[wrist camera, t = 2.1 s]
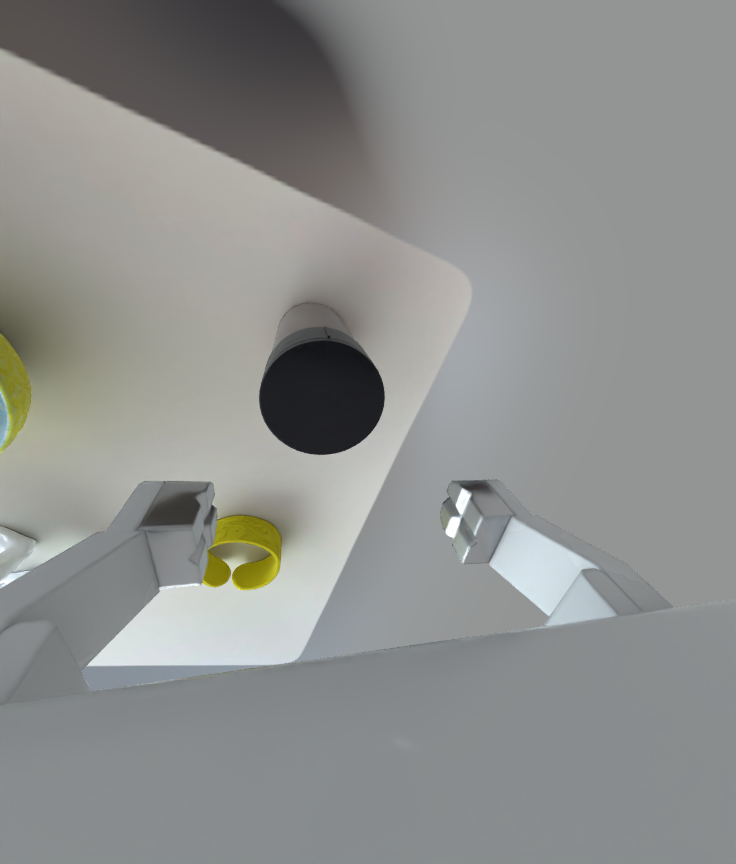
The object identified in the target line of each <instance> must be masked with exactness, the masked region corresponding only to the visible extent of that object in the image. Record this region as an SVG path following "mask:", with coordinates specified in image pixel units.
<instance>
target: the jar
mask: <svg viewBox="0 0 736 864" xmlns="http://www.w3.org/2000/svg"><path fill="white" fill-rule="evenodd" d="M324 326H327V328H333V329H336V330H339V331H341V332H343V333H345V334H347V335H349V336H350V337H352V335H351V333H350V332H349V330H348V329H347V327H346V326H345V324H344V323H343V321H342V320H341V318H340V317H339V316H338V315H337V313H335V312H334V311H333V310H332V309H330V308H329V307H327V306H325V305H322V304H318V303H303V304H299V305H297V306H295V307H293V308H291V309H290V310H289V311H288V312H287V313H286V314H285V315H284V316H283V318H282V319H281V321H280V323H279V326H278V330H277V334H276V338H275V342H274V346H273V350H274V348H275V347H276V346H277V345H278V344H279V343H280V342H281V341H282V340H283V339H284V338H285V337H287V336H288V335H290V334H292V333H294V332H296V331H298V330H301V329H305V328H309V327H324ZM352 338H353V337H352ZM353 339H354V338H353ZM273 350H272V351H273Z"/></svg>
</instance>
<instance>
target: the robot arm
mask: <svg viewBox="0 0 736 864" xmlns="http://www.w3.org/2000/svg"><path fill="white" fill-rule="evenodd" d="M447 493H448V495H449V498H447V500H445V501H444V502H443V504H442V507H441V511H440V519H441V524H442V527H443V529H444V531H445V533H446V534H447V535H449V536H450V537H451V538H453V539H454V540H453V544H452V546H453V548H454V550H455V552H456V553H457V555H458V557H459V559H460V561H461V563H462V564H480V563H481V564H482V563H489V565H490V566H491V567H492V568H493V569H495V570H496V571H497V572H498V573H499V574H500V575H502V576H503V577H504V578H505V579H506V580H507V581H508V582H510V583H511V584H512V585H513V586H514V587H516V588H517V589H518V590H519V591H520V592H521V593H522V594H524V595H525V596H526V597H527V598H528V599H530V600H531V601H532V602H533V603H534V604H535V605H537V606H538V607H539V608H540V609H541V610H543V611H544V612H545V613H546V614H547V615H548V616H549V618H548V619H547V620H546V622H545V623H544V625H543V626H542V627H536V628H529V629H523V630H516V631H509V632H501V633H495V634H487V635H481V636H473V637H466V638H459V639H452V640H446V641H439V642H431V643H425V644H417V645H410V646H404V647H397V648H390V649H383V650H376V651H369V652H362V653H355V654H348V655H341V656H335V657H327V658H320V659H313V660H306V661H300V662H292V663H285V664H278V665H271V666H264V667H258V668H250V669H244V670H236V671H229V672H222V673H215V674H208V675H201V676H194V677H187V678H180V679H173V680H167V681H160V682H152V683H145V684H139V685H131V686H124V687H117V688H110V689H103V690H96V691H92V690H91V688H90V686H89V685H88V683H87V681H86V679H85V677H84V675H83V674H82V672H81V671H82V670H83V669H84V668H85V667H86V666H87V665H88V664H89V663H90V661H91V660H92V659H93V658H94V657H95V656H96V655H97V654H98V653H99V652H100V651H101V650H102V649H103V648H104V647H105V646H106V645H107V644H108V643H109V642H110V641H111V640H112V639H113V638H114V637H115V636H116V635H117V634H118V633H119V632H120V631H121V630H122V629H123V628H124V627H125V626H126V625H127V624H128V623H129V622H130V621H131V620H132V619H133V618H134V617H135V616H136V615H137V614H138V613H139V612H140V611H141V610H142V609H143V608H144V607H145V606H146V605H147V604H148V603H149V602H150V601H151V600H152V599H153V598H154V597H155V596H156V595H157V594H158V593H159V592H160V591H159V589H167V588H176V587H186V586H195V585H201V584H202V581H203V577H204V574H205V570H206V567H207V564H208V553H207V550H208V549H209V548H210V547H212V546H213V543H214V539H215V534H216V527H217V510H216V508H215V507H214V506H213V505H212V502H213V499H214V496H215V492H214V485H213V483H212V482H191V481H167V482H166V481H144V482H142V483H140V484H138V486H137V487H136V489H135V490H134V491H133V493H132V494H131V496H130V497H129V499H128V500H127V501H126V503H125V504H124V506H123V507H122V509H121V510H120V512H119V513H118V514H117V516H116V517H115V519H114V520H113V522H112V523H111V525H110V526H109V527H108V529H107V530H106V532H97V533H95V534H93V535H92V536H90V537H88V538H86V539H85V540H83V541H81V542H79V543H78V544H76V545H74V546H73V547H71V548H69V549H67V550H66V551H64V552H62V553H60V554H59V555H57V556H55V557H54V558H52V559H50V560H48V561H47V562H45V563H43V564H41V565H40V566H38V567H36V568H34V569H33V570H31V571H29V572H28V573H26V574H24V575H22V576H21V577H19V578H17V579H15V580H14V581H12V582H10V583H8V584H7V585H5V586H3V587H2V588H0V864H736V599H732V600H725V601H718V602H712V603H704V604H698V605H690V606H683V607H676V608H674V607H673V606H672V605H671V604H670V603H669V602H667V600H665V599H664V598H663V597H662V596H661V595H660V594H659V593H658V592H657V591H656V590H655V589H653V587H651V586H650V585H649V584H648V583H647V582H646V581H645V580H644V579H643V578H642V577H641V576H640V575H639V574H638V573H637V572H635V570H633V569H632V568H631V567H630V566H629V565H628V564H627V563H625V562H623V561H621V560H619V559H617V558H615V557H613V556H612V555H610V554H608V553H606V552H604V551H602V550H600V549H599V548H597V547H595V546H593V545H591V544H589V543H587V542H586V541H583V540H582V539H580V538H578V537H576V536H574V535H573V534H571V533H569V532H567V531H565V530H563V529H561V528H559V527H558V526H556V525H554V524H552V523H550V522H548V521H546V520H545V519H543V518H541V517H539V516H537V515H532V514H531V513H530V512H529V511H528V510H527V509H526V508H525V507H524V506H523V505H522V503H521V502H520V501H519V500H518V499H517V498H516V497H515V496H514V495H513V494H512V492H511V491H510V490H509V489H508V488H507V487H506V486H505V485H504V484H503V483H502V482H501V481H499V480H479V481H478V480H477V481H476V480H475V481H452V482H451V483H450V484H449V486H448V489H447Z"/></svg>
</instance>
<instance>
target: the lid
mask: <svg viewBox="0 0 736 864" xmlns="http://www.w3.org/2000/svg"><path fill="white" fill-rule="evenodd" d="M384 400H385V394H384V386H383V382H382V379H381V376H380V374H379V372H378V370H377V369H376V367H375V366H374V364H373V363H372V361H371V360H370V358H369V357H368V355H367V354H366V352H365V351H364V349H363V348H362V347H361V346H360V344H359V343H358V342H357V341H355V340H354V339H353V338H352V337H350V336H349V335H347V334H345V333H343V332H341V331H339V330H336V329H333V328H327V326H324V327H309V328H305V329H301V330H298V331H296V332H294V333H292V334H290V335H288V336H287V337H285V338H284V339H283V340H282V341H281V342H280V343H279V344H278V345H277V346H276V347H275V348H274V350H273V351H272V353H271V355H270V356H269V359H268V361H267V364H266V368H265V371H264V375H263V379H262V383H261V387H260V393H259V403H260V410H261V414H262V416H263V419H264V421H265V423H266V425H267V427H268V428H269V429H270V431H271V432H272V433H273V434H274V435H275V436H276V437H277V438H278V439H279V440H280V441H281V442H283V443H284V444H285V445H287V446H289V447H291V448H293V449H295V450H297V451H300V452H304V453H308V454H316V455H327V454H334V453H338V452H342V451H345V450H347V449H350V448H351V447H353V446H355V445H357V444H358V443H360V442H361V441H363V440H364V439H365V438H366V437H367V436H368V435H369V434H370V433H371V432H372V431H373V429H374V428H375V426H376V425H377V423H378V421H379V419H380V417H381V414H382V411H383V407H384Z"/></svg>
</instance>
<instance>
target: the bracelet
mask: <svg viewBox="0 0 736 864" xmlns="http://www.w3.org/2000/svg"><path fill="white" fill-rule="evenodd" d="M231 542H242V543H248V544H252V545H256V546H259V547H261V548H263V549H265V550H267V551H268V552H269V553H271V555H269V556H268V557H267V558H265V559H263V560H260V561H257V562H252V563H246V564H242V565H240V566H239V567H237V568H236V569H235V570H234V572H233V574H232V581H233V584H234V585H235V587H237V588H238V589H240V590H252V589H257V588H261V587H263V586H265V585H267V584H268V583H270V582H271V581H272V580H273V579H274V578H275V577H276V576H277V574H278V572H279V569H280V562H281V536H280V533H279V531H278V530H277V529H276V528H275V527H274V526H273V525H272V524H270V523H268V522H267V521H264V520H262V519H259V518H256V517H251V516H230V517H226V518H223V519H220V520H218V521H217V527H216V534H215V539H214V543H213V546H212V547H210V548H209V549H211V548H213V547H215V546H217V545H220V544H224V543H231ZM209 549H208V550H207V553H208V564H207V567H206V570H205V574H204V577H203V581H202V583H203V584H205V585H207V586H210V587H219V586H221V585H223V584H225V583H226V582H227V581H228V579H229V578H230V575H231V570H230V568H229V566H228V565H227V564H226V563H225V562H224V561H222V560H221V559H219V558H217V557H215V556H214V555H213V554H212V553H211V552H210V551H209Z"/></svg>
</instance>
